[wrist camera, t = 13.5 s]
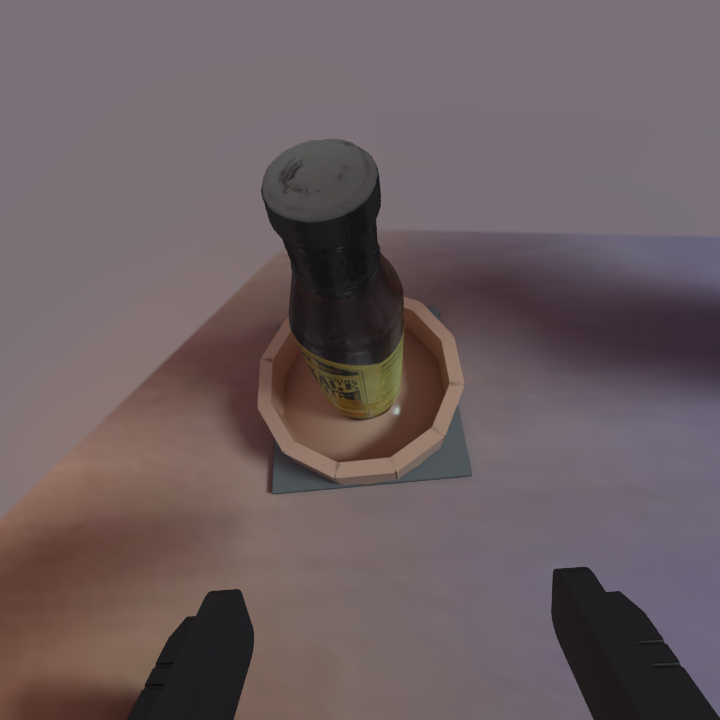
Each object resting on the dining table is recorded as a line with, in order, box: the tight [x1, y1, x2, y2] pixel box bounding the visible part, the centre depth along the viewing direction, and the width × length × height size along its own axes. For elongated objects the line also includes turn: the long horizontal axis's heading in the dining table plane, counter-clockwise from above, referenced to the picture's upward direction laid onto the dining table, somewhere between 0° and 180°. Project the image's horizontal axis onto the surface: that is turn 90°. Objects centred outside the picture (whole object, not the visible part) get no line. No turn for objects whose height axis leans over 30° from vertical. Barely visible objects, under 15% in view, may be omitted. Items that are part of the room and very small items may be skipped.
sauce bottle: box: [261, 139, 404, 421], centre depth 21 cm, size 7×6×20 cm
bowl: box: [257, 296, 465, 485], centre depth 29 cm, size 15×15×4 cm
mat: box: [272, 307, 472, 494], centre depth 31 cm, size 15×15×1 cm
